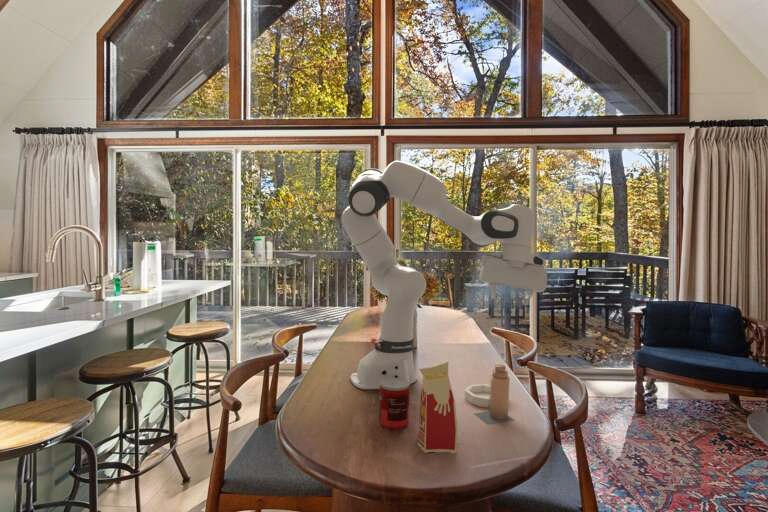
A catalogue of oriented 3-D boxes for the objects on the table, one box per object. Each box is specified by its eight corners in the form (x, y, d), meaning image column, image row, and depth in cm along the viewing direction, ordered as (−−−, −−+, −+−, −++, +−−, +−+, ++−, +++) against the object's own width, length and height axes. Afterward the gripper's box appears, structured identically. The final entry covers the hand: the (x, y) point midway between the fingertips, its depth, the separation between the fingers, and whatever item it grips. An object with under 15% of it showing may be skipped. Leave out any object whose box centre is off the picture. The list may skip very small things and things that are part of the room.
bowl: (478, 410, 123) (479, 400, 123) (459, 395, 134) (459, 386, 134) (514, 405, 126) (514, 396, 126) (492, 391, 138) (492, 382, 137)
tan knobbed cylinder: (495, 421, 115) (497, 369, 114) (485, 413, 120) (487, 364, 119) (511, 418, 117) (513, 368, 116) (501, 411, 121) (502, 362, 121)
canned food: (391, 414, 119) (391, 375, 118) (414, 423, 114) (415, 382, 113) (373, 423, 113) (373, 382, 112) (397, 433, 108) (397, 390, 107)
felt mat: (487, 425, 113) (487, 424, 113) (473, 414, 120) (473, 413, 120) (514, 421, 116) (514, 420, 116) (500, 410, 122) (500, 409, 122)
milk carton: (450, 434, 108) (452, 356, 107) (458, 453, 99) (460, 367, 97) (414, 434, 108) (416, 355, 106) (418, 453, 98) (420, 367, 97)
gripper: (486, 249, 128) (479, 295, 126) (551, 262, 130) (546, 307, 128) (479, 252, 135) (473, 296, 133) (542, 264, 136) (537, 307, 134)
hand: (509, 301), depth 130 cm, fingers open, 8 cm apart
